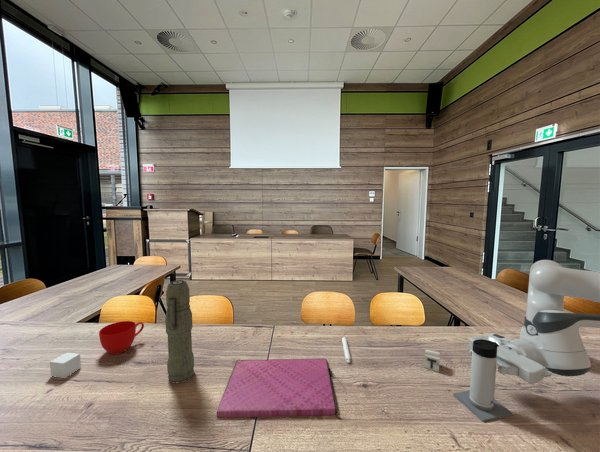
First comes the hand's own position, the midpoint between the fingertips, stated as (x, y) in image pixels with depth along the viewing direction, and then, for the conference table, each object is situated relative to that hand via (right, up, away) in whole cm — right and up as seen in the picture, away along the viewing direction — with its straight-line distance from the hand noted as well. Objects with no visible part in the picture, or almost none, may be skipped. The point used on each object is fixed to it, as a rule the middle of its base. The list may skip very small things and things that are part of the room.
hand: (484, 361), depth 82 cm
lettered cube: (-6, -12, +21) cm, 25 cm away
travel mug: (-1, -14, +1) cm, 14 cm away
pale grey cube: (-144, -13, +17) cm, 146 cm away
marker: (-38, -12, +31) cm, 50 cm away
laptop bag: (-63, -14, +10) cm, 65 cm away
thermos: (-101, -13, +15) cm, 103 cm away
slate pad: (0, -14, +1) cm, 14 cm away
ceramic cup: (-134, -11, +33) cm, 138 cm away
